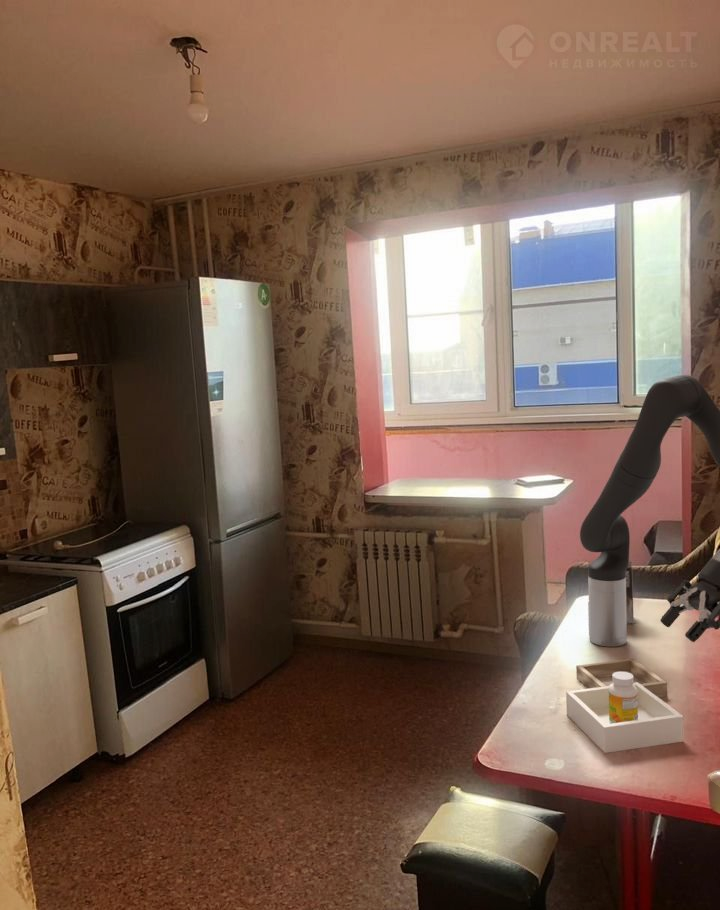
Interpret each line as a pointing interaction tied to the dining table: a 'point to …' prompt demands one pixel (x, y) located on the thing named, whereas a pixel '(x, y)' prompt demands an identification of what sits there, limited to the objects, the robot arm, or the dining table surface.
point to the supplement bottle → (623, 698)
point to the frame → (592, 671)
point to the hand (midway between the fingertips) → (676, 631)
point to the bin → (649, 729)
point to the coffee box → (629, 594)
